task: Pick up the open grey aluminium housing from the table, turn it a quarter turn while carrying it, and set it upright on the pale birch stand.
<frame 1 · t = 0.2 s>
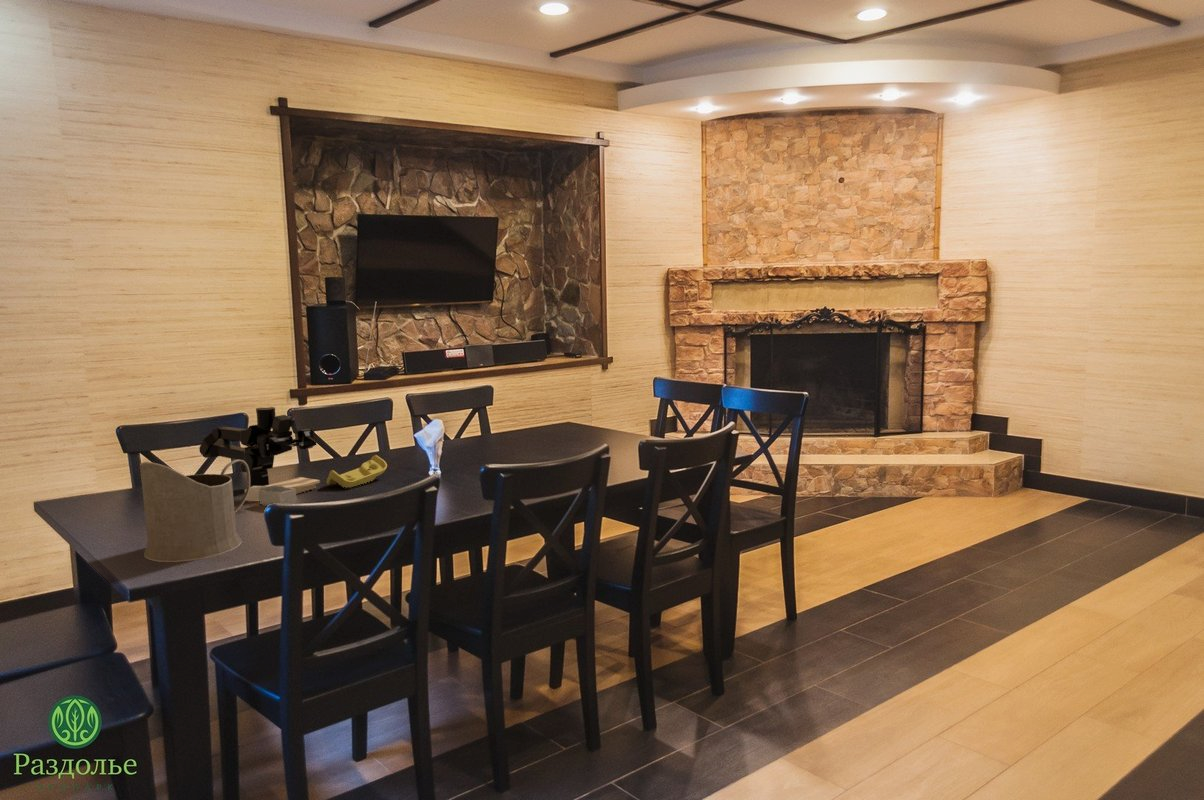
hand: (304, 445, 284), 17 cm above the table, tool horizontal, fingers open, 9 cm apart
stand: (293, 492, 294), on the table
parts box: (257, 500, 285), on the table
plastic component: (359, 483, 305), on the table
housing: (278, 504, 278), on the table
pitcher: (207, 543, 240), on the table
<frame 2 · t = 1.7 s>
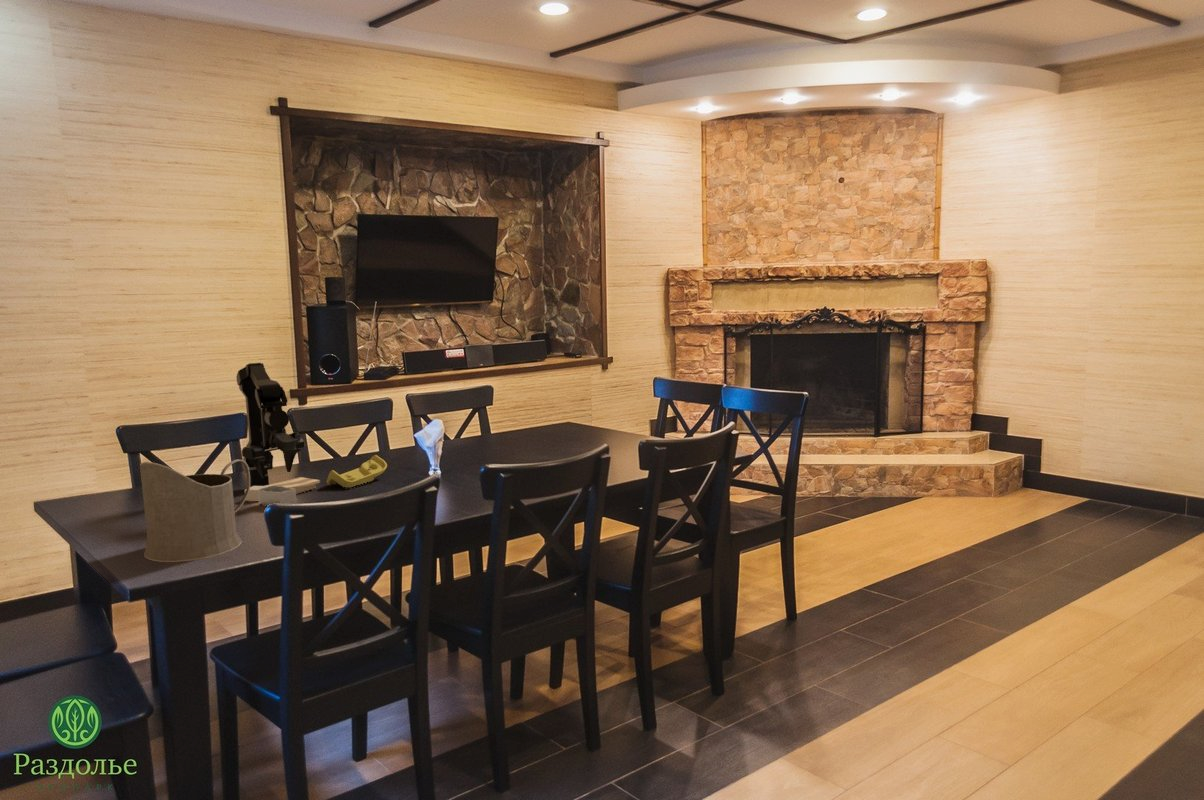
hand: (276, 474, 277), 9 cm above the table, tool pointing down, fingers open, 9 cm apart
nothing on the table moved.
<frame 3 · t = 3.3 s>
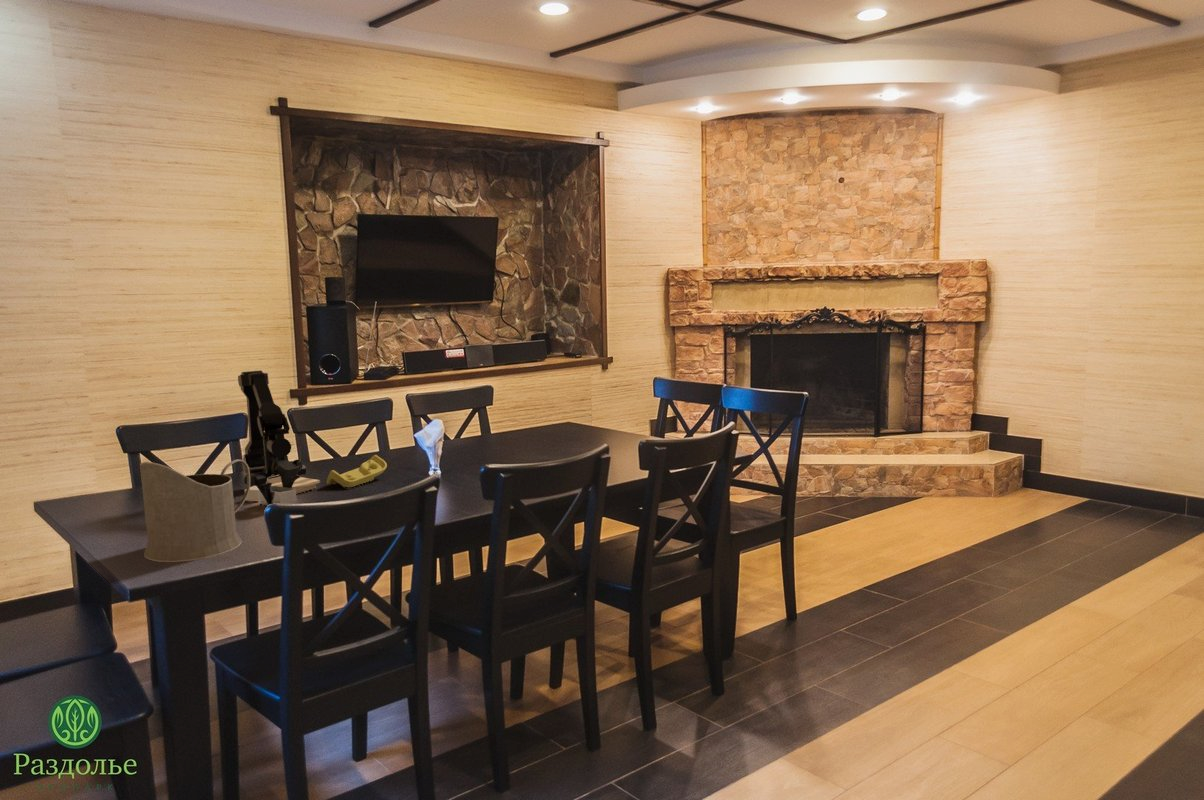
hand: (278, 501, 278), 1 cm above the table, tool pointing down, fingers closed on housing, 6 cm apart
housing: (278, 504, 278), on the table, touching gripper
everything else where it was.
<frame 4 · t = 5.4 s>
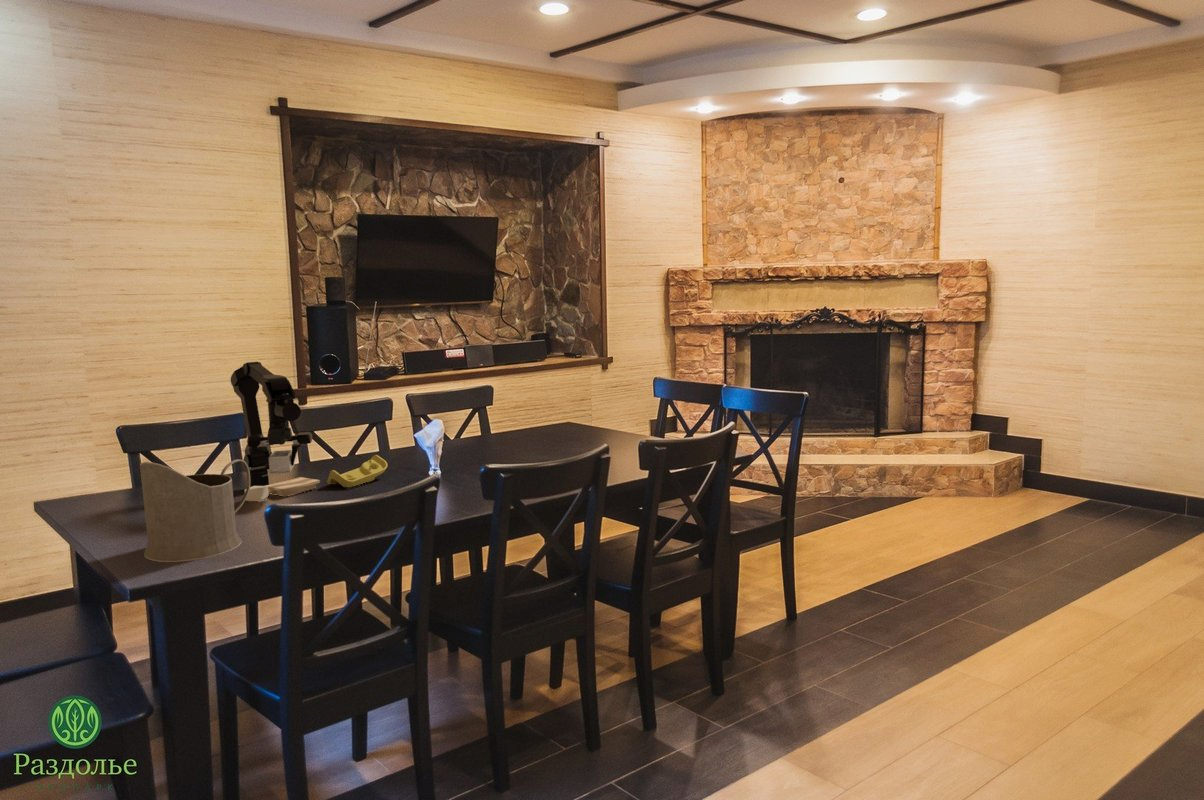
hand: (282, 466, 284), 11 cm above the table, tool pointing down, fingers closed on housing, 6 cm apart
housing: (282, 469, 284), point 10 cm above the table, touching gripper
everything else where it was.
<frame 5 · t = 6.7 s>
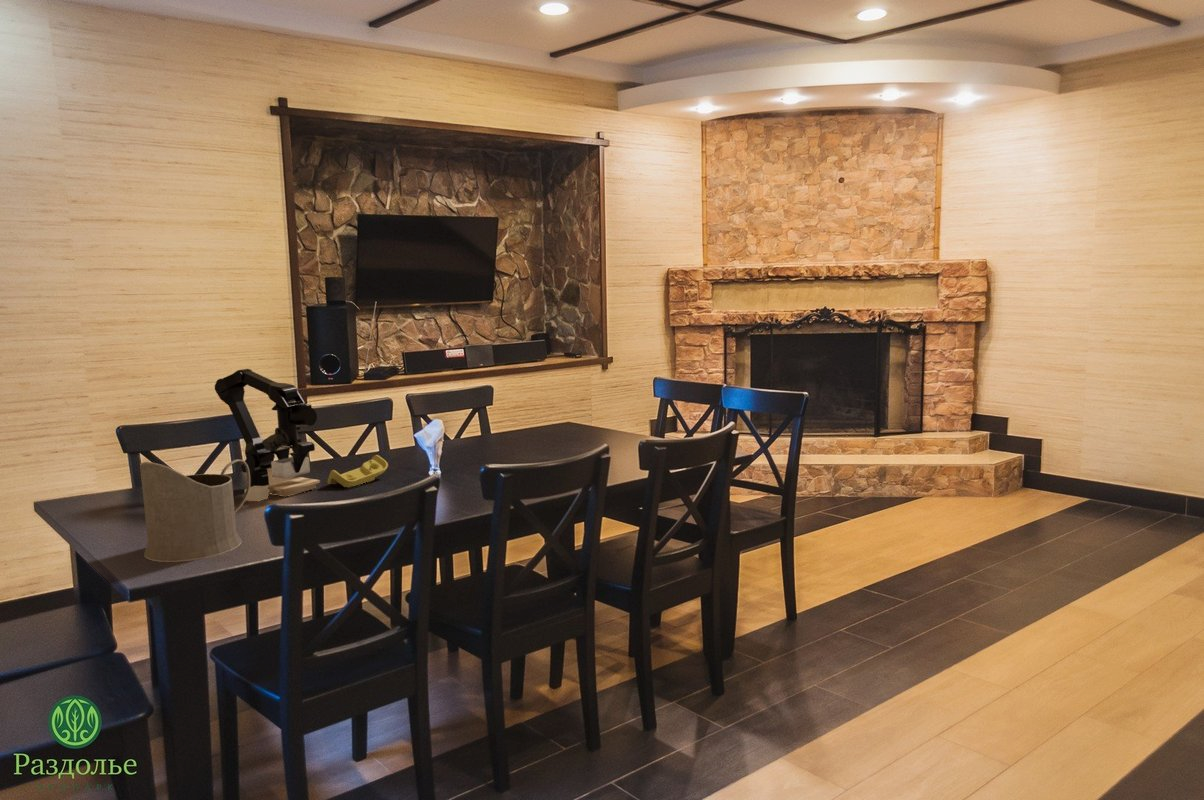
hand: (291, 471, 293), 7 cm above the table, tool pointing down, fingers closed on housing, 6 cm apart
housing: (291, 474, 293), point 6 cm above the table, touching gripper
everything else where it was.
when the fingers open (5 cm above the table, at t = 7.8 s): housing drops 1 cm, resting on stand.
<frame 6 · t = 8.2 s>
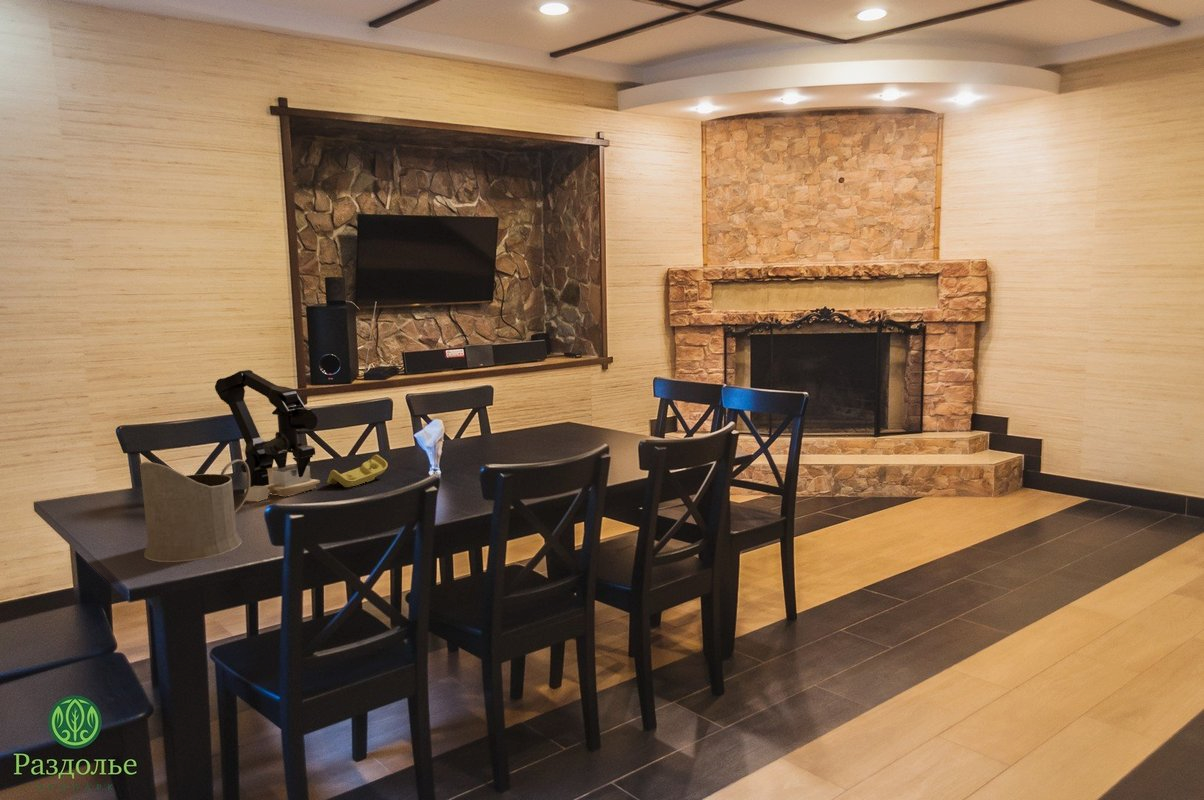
hand: (291, 475, 293), 5 cm above the table, tool pointing down, fingers open, 9 cm apart
housing: (292, 483, 294), point 3 cm above the table, touching stand
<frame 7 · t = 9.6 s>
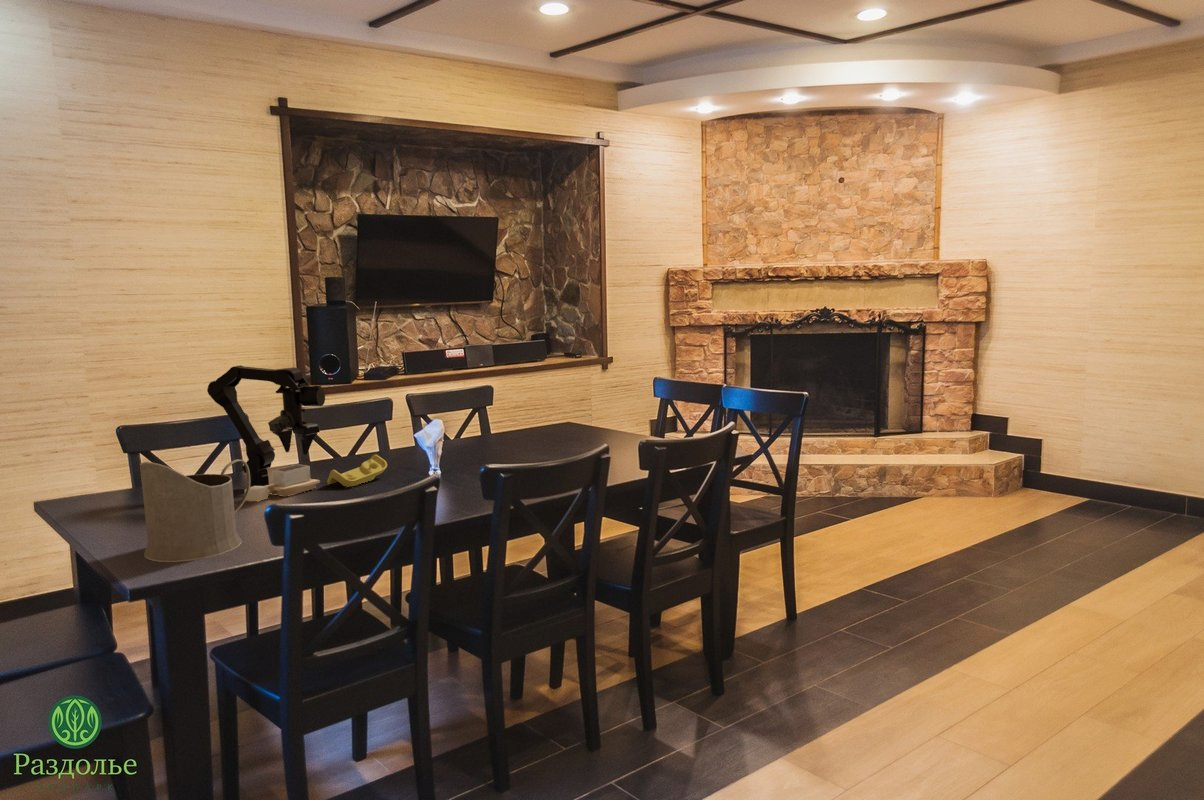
hand: (296, 453, 297), 12 cm above the table, tool pointing down, fingers open, 9 cm apart
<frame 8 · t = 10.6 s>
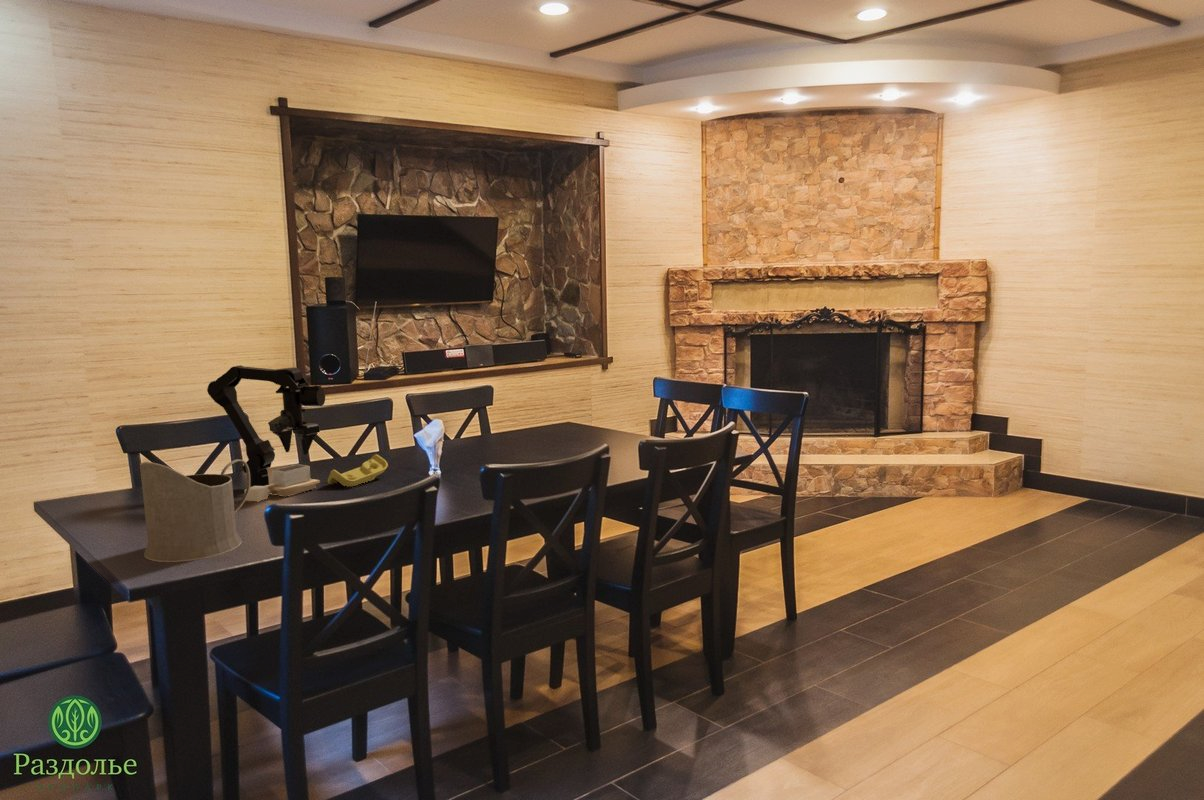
hand: (296, 453, 297), 12 cm above the table, tool pointing down, fingers open, 9 cm apart
at the end: housing inside the target area on the stand (0.0 cm from its centre), point 3.0 cm above the stand's base; housing tilted 0°; the gripper is holding nothing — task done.
